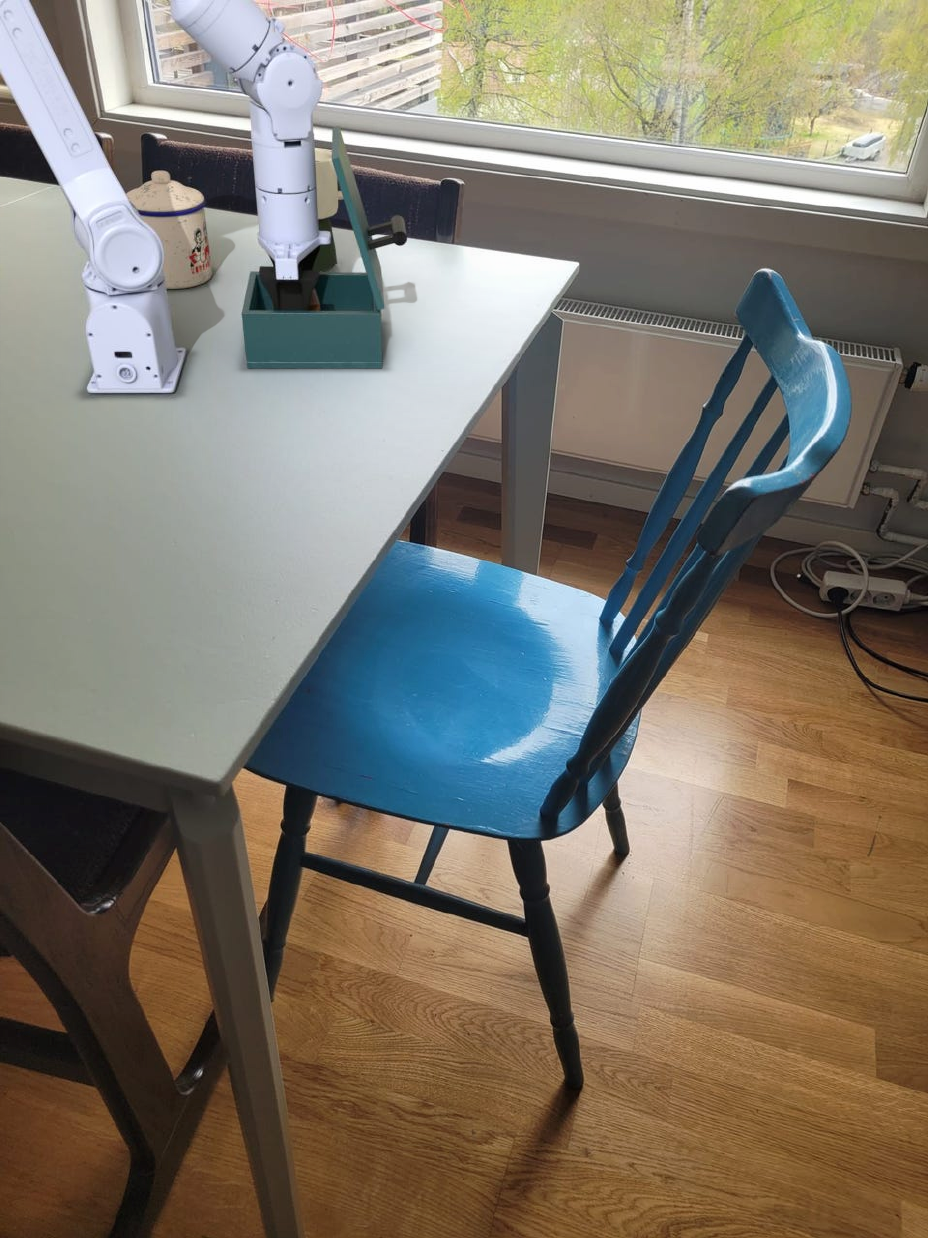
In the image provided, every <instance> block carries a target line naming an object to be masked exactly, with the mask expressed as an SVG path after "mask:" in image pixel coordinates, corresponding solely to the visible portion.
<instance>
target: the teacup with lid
mask: <svg viewBox="0 0 928 1238" xmlns="http://www.w3.org/2000/svg"><path fill="white" fill-rule="evenodd" d="M150 176H151V180H149V181H146V182H144V183H143V184H142V185H140V187H137V188H134V189H131V190H129V191H128V192H127V193H125V194H126V195H127V197H128V199H129V200H130V201H131V202H132V203H133V204H134V205H135V207H136V208H137V210H138V212H139V214H140V216H141V217H142V218H143V220H144V221H145V222H146V223H147V224H148V225H149V226H150V227H151V228H152V229H153V230H154V231H155V232H156V233H157V235H158V236H159V237H160V240H161V242H162V244H163V248H164V254H165V256H164V265H163V268H162V270H163V271H164V278H165V284H166V290H180V289H181V290H182V289H188V288H194V287H198V286H200V285H202V284H204V283H206V282H207V281H209V280H210V279H211V277H212V276H213V269H212V261H211V253H210V245H209V244H210V243H209V235H208V228H207V219H206V210H205V207H206V204H207V200H206V199H205V197H204V194H203V193H202V192H201V191H200V190H198V189H195V188H192V187H190V186H185V185H183V184H182V183H181V182H178V181H176V180H173V179H171V174H170V173H169V172H168V171H166V170H154V171H152V173H151V174H150Z"/></svg>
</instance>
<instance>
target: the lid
mask: <svg viewBox="0 0 928 1238" xmlns="http://www.w3.org/2000/svg"><path fill="white" fill-rule="evenodd" d="M331 135H332V136H331V152H332V162H333V166H334V169H335V172H336V175H337V183H338V185H339V188H340V191H341V192H342V195H343V198H344V199H343V201H344V205H345V208H346V211H347V215H348V218H349V221H350V225H351V227H352V230H353V234H354V237H355V240H356V243H357V247H358V250H359V253H360V257H361V260H362V264H363V267H364V270H365V273H367V277H368V280H369V283H370V286H371V290H372V293H373V296H374V300H375V303H376V306H377V309H378V310H381V311H382V310H385V308H386V307H385V298H384V297H385V296H384V286H383V275H382V266H381V263H380V259H379V256H378V252H377V249H379V248H382V247H385V246H386V247H387V246H389V245H396V246H399V247H402V246H404V245H405V244H406V243H407V241H408V235H407V228H406V223H405V218H404V217H403V216H401V215H398V214H397V215H394V216H393V217H391V219H390V221H386V222H382V223H380V224H379V223H378V224H375V225H372V226H370V225H369V222H368V218H367V215H366V212H365V209H364V205H363V202H362V198H361V195H360V192H359V188H358V185H357V181H356V177H355V175H354V171H353V168H352V165H351V161H350V158H349V154H348V151H347V147H346V144H345V141H344V137H343V134H342V131H341V127H340V125H338V126H333V127H332V134H331ZM390 231H391V234H388V235H384V236H381V237H380V236H379V237H377V238H374V239H373V236H377V235H380V234H384V233H387V232H390Z"/></svg>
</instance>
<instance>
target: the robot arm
mask: <svg viewBox="0 0 928 1238" xmlns="http://www.w3.org/2000/svg"><path fill="white" fill-rule="evenodd" d="M168 1H169V8H170V14H171V18H172V20H173V22H175V24H177V26H178V27H180V28H181V30H183V31H184V32H185V33H186V34H187V35H188V36H189V37H190V38H191V39H192V40H193V41H194V42H195V43H196V44H197V45H198V46H199V47H200V48H201V49H202V50H203V51H204V52H205V53H206V54H207V55H209V57H210V58H212V59H213V61H215V62H216V64H217V65H219V66H220V68H222V69H223V71H225V72H226V73H227V74H228V75H229V76H230V77H231V78H234V79H236V82H237V85H238V87H239V90H240V91H241V92H242V94H243V95H245V96H248V97H249V98H250V99H251V100H250V101H249V102H248V106H249V118H250V140H251V152H252V160H253V174H254V176H253V177H254V185H255V187H254V189H255V198H256V209H257V221H258V232H257V243H258V244H259V246H260V247H261V248H262V249H263V250H264V251H265V253H266V254H267V256H268V257H269V259H270V261H271V264H272V266H265V265H264V266H263V265H261V266H259V269H258V272H259V278H260V280H261V283H262V284H263V286H264V287H265V289H266V290H267V292H268V294H269V296H270V298H271V300H272V303H273V306H274V308H275V311H308V308H309V302H310V298H311V295H312V292H313V289H314V287H315V285H316V283H317V280H318V277H319V271H318V270H313V266H314V263H315V260H316V257H317V255H318V252H319V250H320V245H321V244H330V243H331V233H330V232H329V231H319V228H318V209H317V186H316V164H315V148H316V147H315V132H314V116H313V113H314V111H315V109H316V107H317V106H318V104H319V103H320V100H321V96H322V93H323V87H324V85H323V80H321V79H320V78H319V73H318V72H317V71H316V69H317V66H316V64H315V63H314V61H313V59H312V57H311V56H310V55H309V54H308V52H306V51H305V50H304V49H302V48H301V47H300V46H297V45H295V44H293V43H291V42H289V41H287V40H286V38H285V37H284V34H283V33H284V31H285V30H286V26H285V25H284V23H283V22H282V21H281V20H280V19H279V18H277V17H276V16H273V17H271V18H270V17H269V15H267V13H266V12H265V11H264V10H263V9H262V8H261V7H260V6H259V5H258V4H257V3H256V1H255V0H168ZM0 76H1V77H2V79H3V81H4V83H5V85H6V87H7V89H8V90H9V92H10V94H11V96H12V98H13V100H14V102H15V104H16V106H17V107H18V109H19V111H20V113H21V115H22V117H23V119H24V120H25V122H26V125H27V126H28V129H29V130H30V132H31V134H32V136H33V138H34V139H35V141H36V143H37V145H38V147H39V149H40V150H41V152H42V154H43V156H44V158H45V160H46V162H47V164H48V166H49V167H50V170H51V171H52V173H53V175H54V177H55V178H56V181H57V183H58V185H59V187H60V190H61V192H62V194H63V195H64V198H65V199H66V201H67V204H68V206H69V208H70V213H71V229H72V233H73V236H74V238H75V240H76V242H77V244H78V245H79V246H80V247H81V248H82V250H83V251H84V253H85V254H86V255H87V258H88V259H87V260H86V264H85V265H84V268H83V271H82V272H81V278H82V282H83V287H84V292H85V298H86V301H87V307H88V311H89V312H88V316H87V319H86V322H85V335H86V342H87V345H88V350H89V355H90V359H91V365H92V370H93V373H92V376H91V377H90V379H89V382H88V384H87V385H86V391H87V392H88V393H89V394H172V393H174V392H175V391H176V388H177V384H178V383H179V378H180V375H181V372H182V368H183V364H184V362H185V359H186V354H187V348H185V347H176V343H175V336H174V330H173V325H172V316H171V311H170V304H169V297H168V291H167V290H168V289H166V284H165V278H164V271H163V270H162V268H163V265H164V256H165V254H164V248H163V244H162V242H161V240H160V237H159V236H158V235H157V233H156V232H155V231H154V230H153V229H152V228H151V227H150V226H149V225H148V224H147V223H146V222H145V221H144V220H143V218H142V217H141V216H140V214H139V212H138V210H137V208H136V207H135V205H134V204H133V203H132V202H131V201H130V200H129V199H128V197H127V195H126V194H127V193H126V192H125V190H124V188H123V187H122V185H121V183H120V181H119V180H118V178H117V176H116V174H115V173H114V170H113V169H112V167H111V165H110V163H109V161H108V159H107V156H106V155H105V152H104V151H103V149H102V146H101V145H100V143H99V140H98V138H97V136H96V135H95V132H94V130H93V128H92V126H91V124H90V122H89V120H88V117H87V116H86V114H85V112H84V110H83V107H82V106H81V103H80V102H79V99H78V97H77V95H76V94H75V93H76V92H75V91H74V89H73V87H72V85H71V83H70V81H69V79H68V77H67V74H66V73H65V71H64V69H63V67H62V65H61V63H60V61H59V58H58V56H57V55H56V53H55V51H54V47H53V46H52V44H51V42H50V41H49V38H48V36H47V34H46V32H45V30H44V27H43V26H42V23H41V22H40V19H39V17H38V15H37V13H36V12H35V10H34V7H33V5H32V3H31V1H30V0H0Z"/></svg>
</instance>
